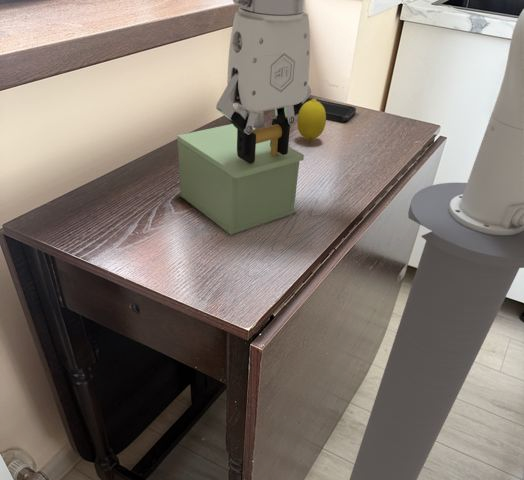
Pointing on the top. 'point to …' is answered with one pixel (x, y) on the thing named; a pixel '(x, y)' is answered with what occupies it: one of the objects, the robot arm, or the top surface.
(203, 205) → the chest
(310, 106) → the lemon
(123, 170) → the top surface
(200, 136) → the lid
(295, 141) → the top surface
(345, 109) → the phone
